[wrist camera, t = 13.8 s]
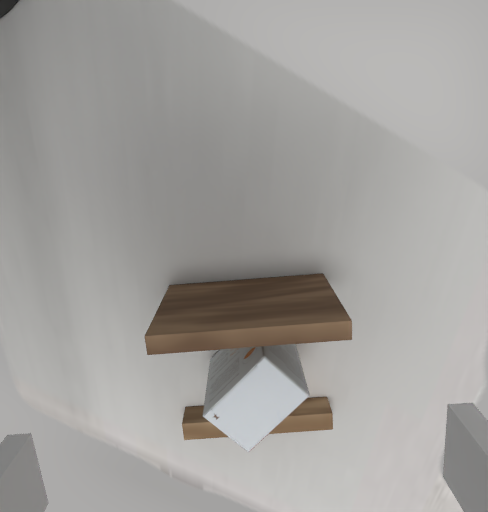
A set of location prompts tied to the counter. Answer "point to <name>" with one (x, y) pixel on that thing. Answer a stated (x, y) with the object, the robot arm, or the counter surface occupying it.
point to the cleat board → (250, 331)
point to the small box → (253, 391)
